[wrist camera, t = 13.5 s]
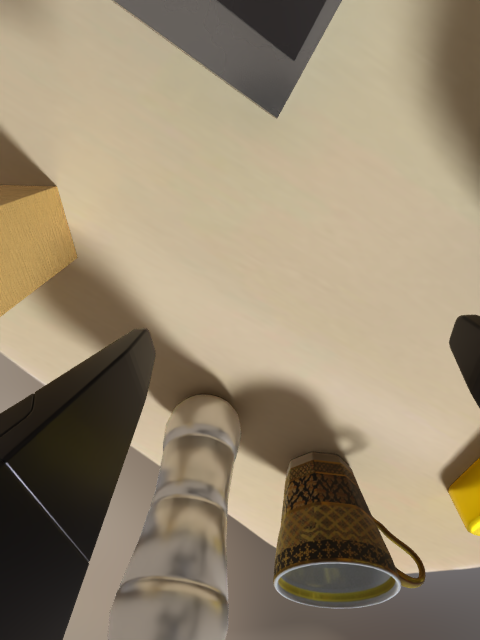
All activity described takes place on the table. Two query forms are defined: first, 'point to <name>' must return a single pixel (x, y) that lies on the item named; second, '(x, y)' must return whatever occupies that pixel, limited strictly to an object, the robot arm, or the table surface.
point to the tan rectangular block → (31, 240)
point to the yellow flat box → (468, 497)
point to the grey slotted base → (243, 39)
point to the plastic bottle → (184, 533)
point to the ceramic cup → (333, 540)
